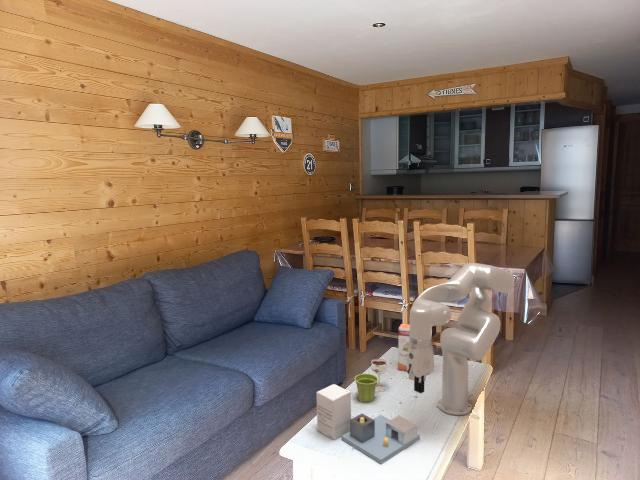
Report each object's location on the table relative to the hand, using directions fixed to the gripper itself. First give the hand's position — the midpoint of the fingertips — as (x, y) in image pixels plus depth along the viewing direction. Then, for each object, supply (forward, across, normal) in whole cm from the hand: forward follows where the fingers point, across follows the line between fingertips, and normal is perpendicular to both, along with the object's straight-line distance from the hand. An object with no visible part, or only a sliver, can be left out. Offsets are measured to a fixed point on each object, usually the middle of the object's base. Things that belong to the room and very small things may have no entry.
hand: (419, 391), depth 162 cm
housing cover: (+13, -9, 0) cm, 16 cm away
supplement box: (+15, -22, +20) cm, 34 cm away
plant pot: (+15, +3, +28) cm, 32 cm away
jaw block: (+13, -19, +9) cm, 25 cm away
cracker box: (+14, +38, +31) cm, 51 cm away
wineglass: (+14, +13, +30) cm, 36 cm away
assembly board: (+15, -14, +5) cm, 21 cm away
